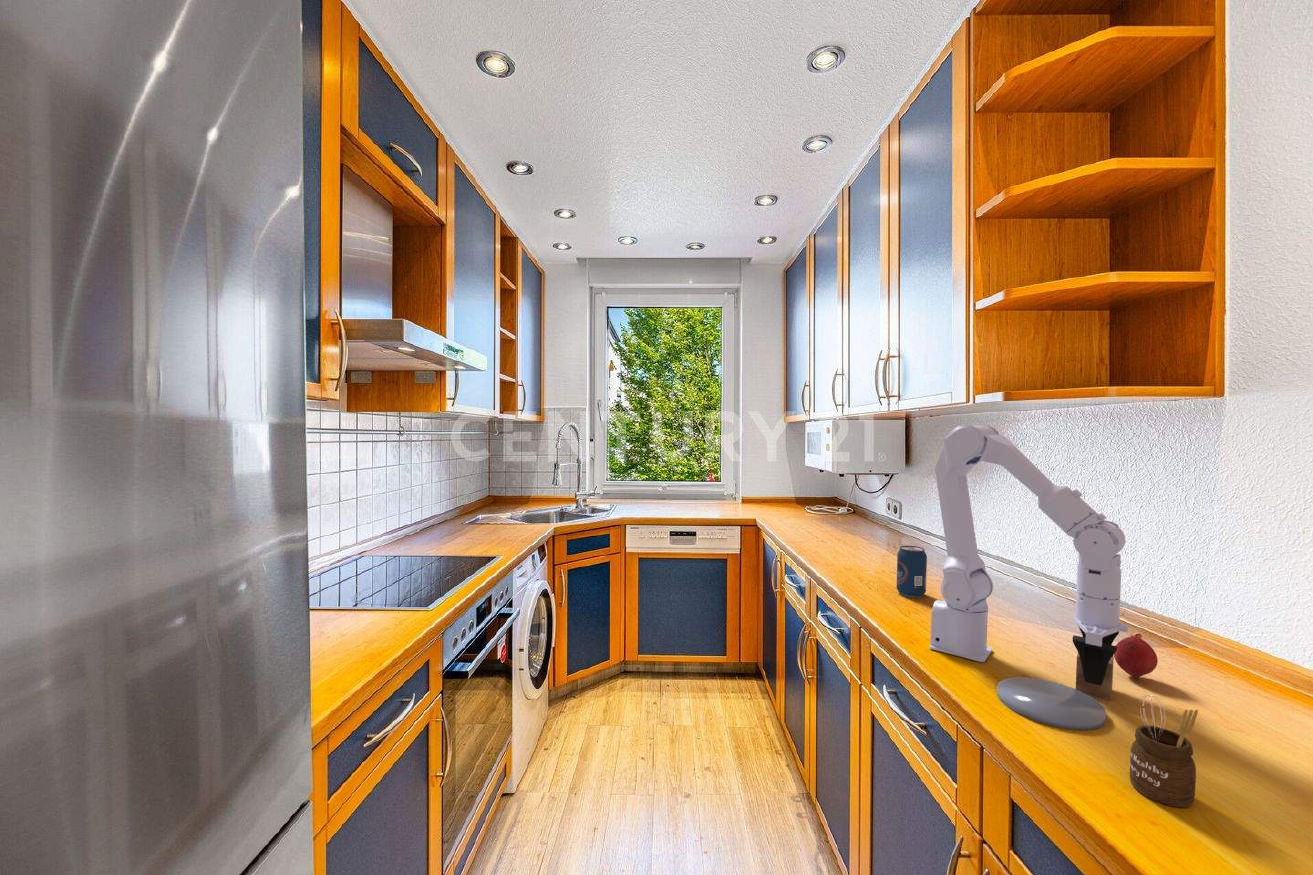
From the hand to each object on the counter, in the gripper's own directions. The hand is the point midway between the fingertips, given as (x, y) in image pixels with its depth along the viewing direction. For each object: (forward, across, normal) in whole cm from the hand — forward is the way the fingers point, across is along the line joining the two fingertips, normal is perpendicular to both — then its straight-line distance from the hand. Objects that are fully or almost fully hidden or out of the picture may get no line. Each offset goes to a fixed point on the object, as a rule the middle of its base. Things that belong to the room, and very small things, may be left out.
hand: (1094, 675), depth 93 cm
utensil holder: (+3, -27, -8) cm, 28 cm away
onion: (+3, +11, -5) cm, 12 cm away
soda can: (+3, +33, +39) cm, 51 cm away
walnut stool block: (+3, 0, 0) cm, 3 cm away
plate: (+3, -11, +5) cm, 12 cm away
